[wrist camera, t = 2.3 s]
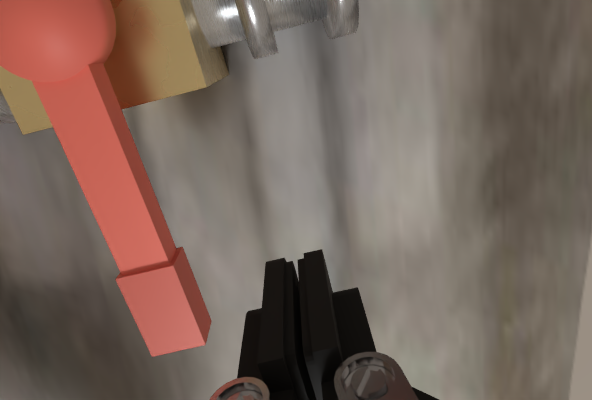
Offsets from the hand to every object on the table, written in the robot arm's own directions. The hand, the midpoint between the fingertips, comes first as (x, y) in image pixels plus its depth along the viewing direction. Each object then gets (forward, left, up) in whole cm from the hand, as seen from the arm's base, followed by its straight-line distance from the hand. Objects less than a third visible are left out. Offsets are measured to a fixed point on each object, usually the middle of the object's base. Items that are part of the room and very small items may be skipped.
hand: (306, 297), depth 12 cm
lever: (+4, +6, -6) cm, 9 cm away
